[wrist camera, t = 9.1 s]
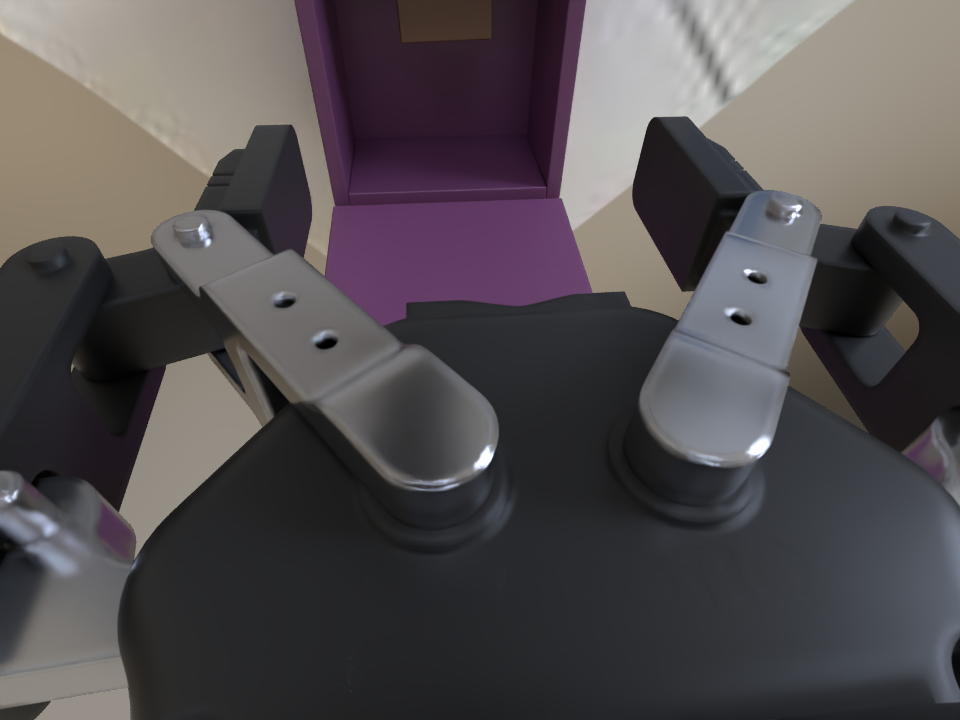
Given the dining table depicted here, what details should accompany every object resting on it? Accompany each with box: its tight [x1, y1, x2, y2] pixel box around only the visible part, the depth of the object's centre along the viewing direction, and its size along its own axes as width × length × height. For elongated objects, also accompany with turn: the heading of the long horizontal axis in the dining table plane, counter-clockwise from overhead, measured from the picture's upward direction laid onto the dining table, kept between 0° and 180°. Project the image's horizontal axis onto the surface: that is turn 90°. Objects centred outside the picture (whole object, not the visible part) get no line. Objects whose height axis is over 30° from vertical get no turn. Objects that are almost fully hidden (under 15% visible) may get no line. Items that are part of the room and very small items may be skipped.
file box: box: [294, 0, 586, 206], centre depth 27 cm, size 15×13×8 cm
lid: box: [325, 198, 592, 326], centre depth 25 cm, size 15×13×1 cm
